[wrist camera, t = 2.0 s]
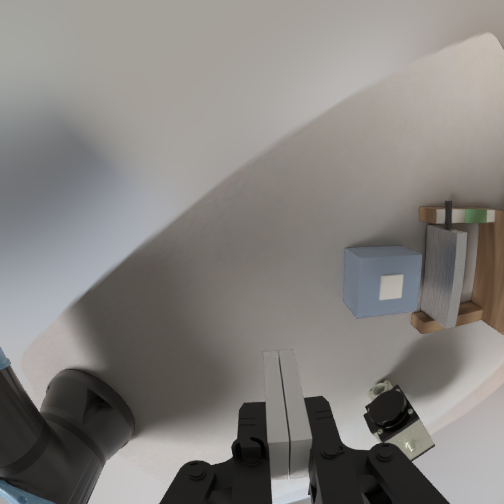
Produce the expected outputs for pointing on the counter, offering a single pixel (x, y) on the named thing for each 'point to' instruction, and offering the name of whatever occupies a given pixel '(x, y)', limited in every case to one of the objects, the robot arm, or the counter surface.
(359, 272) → the blue block
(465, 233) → the grey flat panel
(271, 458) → the robot arm
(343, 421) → the counter surface
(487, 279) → the gauge frame
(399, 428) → the pneumatic valve
